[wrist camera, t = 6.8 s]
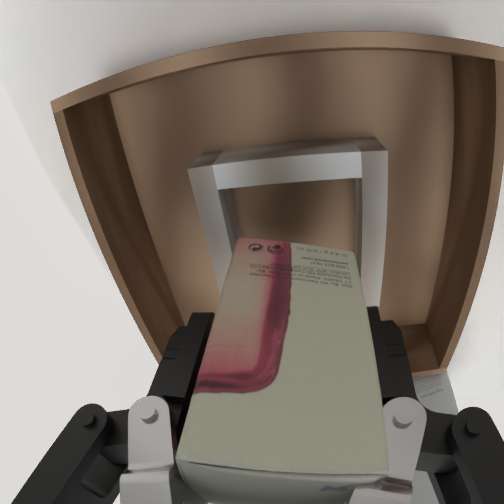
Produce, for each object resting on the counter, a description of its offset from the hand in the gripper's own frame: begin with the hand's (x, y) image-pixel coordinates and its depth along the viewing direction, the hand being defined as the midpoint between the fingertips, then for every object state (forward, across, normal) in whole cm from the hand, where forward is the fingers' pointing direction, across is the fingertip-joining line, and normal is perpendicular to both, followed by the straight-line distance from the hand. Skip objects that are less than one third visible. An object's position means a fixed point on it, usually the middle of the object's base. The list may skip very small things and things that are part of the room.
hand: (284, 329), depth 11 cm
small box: (+2, 0, 0) cm, 2 cm away
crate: (+9, 0, 0) cm, 9 cm away
